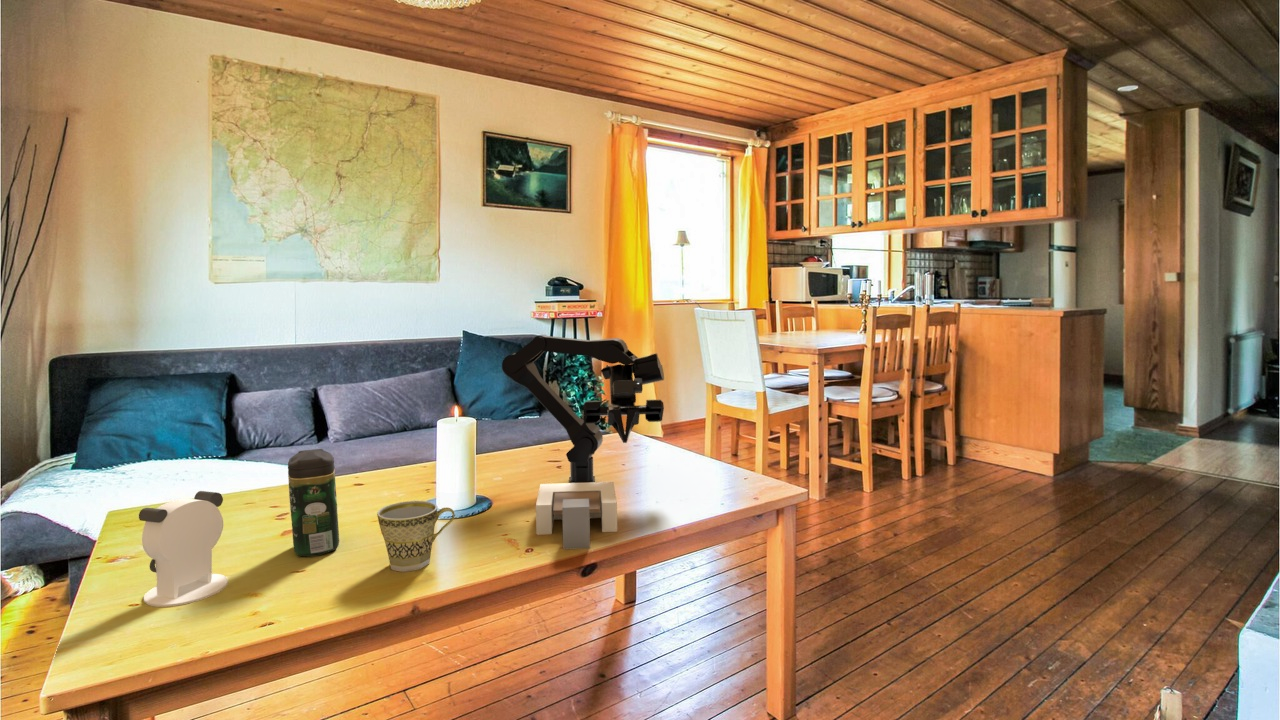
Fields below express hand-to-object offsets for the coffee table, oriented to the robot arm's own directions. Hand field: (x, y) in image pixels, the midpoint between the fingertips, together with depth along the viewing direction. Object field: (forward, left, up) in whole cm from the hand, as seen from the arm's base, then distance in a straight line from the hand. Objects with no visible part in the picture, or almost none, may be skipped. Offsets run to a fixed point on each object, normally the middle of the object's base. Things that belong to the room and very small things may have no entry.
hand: (625, 441), depth 152 cm
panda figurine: (+39, -74, -14) cm, 85 cm away
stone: (+25, -11, -10) cm, 29 cm away
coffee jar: (+23, -60, -14) cm, 66 cm away
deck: (+13, -11, -14) cm, 22 cm away
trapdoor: (+16, -11, -9) cm, 21 cm away
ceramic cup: (+32, -39, -14) cm, 52 cm away
